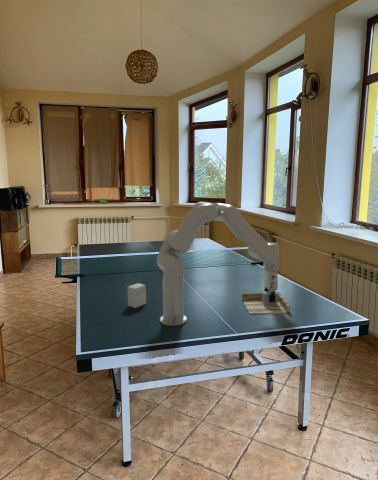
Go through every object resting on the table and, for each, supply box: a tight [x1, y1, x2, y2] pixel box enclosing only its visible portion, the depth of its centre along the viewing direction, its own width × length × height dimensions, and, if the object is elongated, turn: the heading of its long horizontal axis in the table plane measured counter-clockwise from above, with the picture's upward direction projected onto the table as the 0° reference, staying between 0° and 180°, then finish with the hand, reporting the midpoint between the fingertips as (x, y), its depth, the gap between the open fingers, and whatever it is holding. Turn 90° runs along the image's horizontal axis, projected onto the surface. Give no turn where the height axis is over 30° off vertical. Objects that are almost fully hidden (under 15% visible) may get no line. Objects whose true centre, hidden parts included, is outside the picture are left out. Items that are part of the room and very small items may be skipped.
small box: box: [126, 282, 147, 309], centre depth 196 cm, size 8×6×10 cm
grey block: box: [261, 290, 278, 305], centre depth 195 cm, size 7×4×6 cm, turn 92°
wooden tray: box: [241, 291, 291, 315], centre depth 193 cm, size 20×20×4 cm
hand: (269, 298), depth 195 cm, fingers open, 9 cm apart
